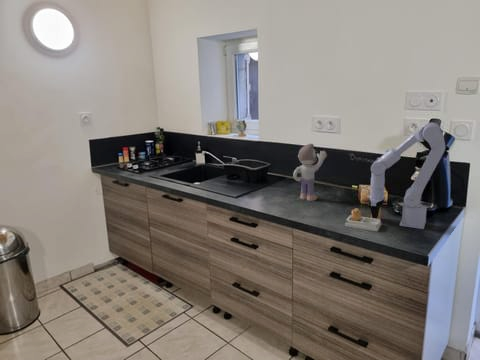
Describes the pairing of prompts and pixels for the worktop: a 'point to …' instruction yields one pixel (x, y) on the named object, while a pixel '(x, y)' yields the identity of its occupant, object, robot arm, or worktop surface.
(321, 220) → the worktop surface
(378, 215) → the peg
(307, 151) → the toy
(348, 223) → the housing
